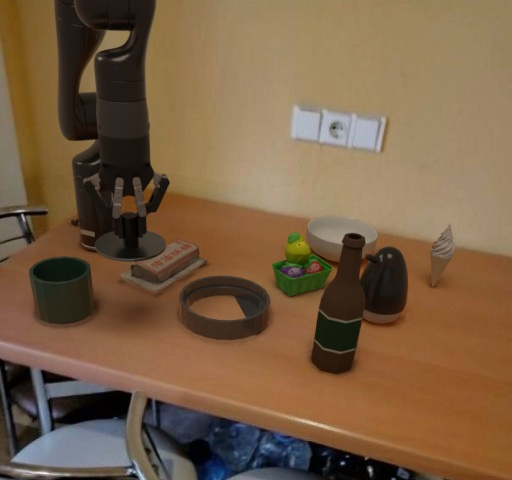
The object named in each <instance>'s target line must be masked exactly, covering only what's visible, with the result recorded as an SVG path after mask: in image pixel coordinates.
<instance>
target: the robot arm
mask: <svg viewBox="0 0 512 480" xmlns="http://www.w3.org/2000/svg"><path fill="white" fill-rule="evenodd" d="M157 2H158V1H157V0H53V9H54V11H53V12H54V22H55V34H56V47H57V48H56V49H57V119H58V125H59V130H60V133H61V135H62V137H64V138H65V140H67V141H69V142H70V141H71V142H84V141H85V142H86V141H94V142H93V143H92V144H91V145H90V146H88V148H86V149H85V150H83V151H81V152H79V153H77V154H75V155H74V156H73V157H72V159H71V171H72V179H73V186H74V187H73V188H74V195H75V196H74V197H75V204H76V212H77V213H76V214H77V218H76V219H75V220H74V219H71V220H70V223H71V224H72V225H74V226H75V225H76V226H77V225H78V230H79V238H80V239H79V243H80V247H82V248H83V249H84V250H88V251H90V252H97V251H96V249H95V242H96V240H97V239H98V238H99V237H101V236H102V235H104V234H106V233H109V232H112V231H114V234H115V236H118V237H119V239H123V225H122V217H121V214H122V213H121V212H122V211H121V209H122V204H123V198H125V197H133V198H134V201H135V205H136V210H137V211H136V212H135V213H136V214H137V219H138V237H139V238H143V234H146V232H147V231H148V227H147V223H148V222H147V217H148V215H149V214H150V213H152V214H153V213H156V212H157V211H158V210H159V208H160V205H161V203H162V201H163V199H164V197H165V195H166V192H167V190H168V188H169V186H170V184H171V182H170V180H169V177H168V176H167V174H165V173H162V174H161V173H159V172H157V171H156V172H155V170H154V167H153V166H152V163H151V162H152V161H151V139H150V138H151V137H150V136H151V135H150V129H151V123H150V114H149V106H148V101H147V78H146V77H147V76H146V75H147V73H146V71H147V69H146V68H147V54H148V48H149V42H150V37H151V33H152V29H153V25H154V22H155V16H156V11H157ZM109 31H110V32H111V31H112V32H129V35H128V38H127V39H126V41H125V42H124V43H123V44H122V45H119V46H117V47H113V48H107V49H102V50H100V51H98V50H99V49H100V47H101V46H102V43H103V41H104V40H105V37H106V35H107V32H109ZM92 59H93V72H94V83H95V91H85V92H83V91H82V92H81V91H80V86H81V82H82V79H83V76H84V73H85V72H86V69H87V67H88V66H89V64H90V62H91V61H92ZM152 180H153V182H152ZM151 182H152V184H153V186H154V188H153V190H152V193H151V195H150V197H149V199H148V201H147V202H145V197H144V192H145V190H146V189H147V187H148V186H149V185H150V183H151Z"/></svg>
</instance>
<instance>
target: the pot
mask: <svg viewBox="0 0 512 480" xmlns="http://www.w3.org/2000/svg"><path fill="white" fill-rule="evenodd" d="M28 276H29V282H30V287H31V294H32V299H33V304H34V310H35V311H34V312H35V315H36V316H37V318H38V319H39V320H41V321H42V322H45V323H47V324H50V325H51V324H52V325H60V326H61V325H70V324H75V323H79V322H81V321H84V320H86V319H87V318H89V317H90V316H92V315H93V313H94V312H95V310H96V303H95V295H94V287H93V286H94V285H93V278H92V268H91V264H90V263H89V262H88V261H87V260H85V259H82V258H79V257H76V256H67V255H65V256H64V255H62V256H52V257H47V258H44V259H41V260H39V261H38V262H35V263H34V264H33V265H32V266H31V267H30V268H29V269H28Z"/></svg>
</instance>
